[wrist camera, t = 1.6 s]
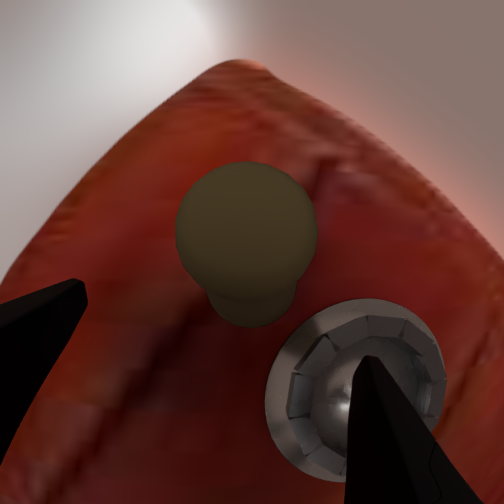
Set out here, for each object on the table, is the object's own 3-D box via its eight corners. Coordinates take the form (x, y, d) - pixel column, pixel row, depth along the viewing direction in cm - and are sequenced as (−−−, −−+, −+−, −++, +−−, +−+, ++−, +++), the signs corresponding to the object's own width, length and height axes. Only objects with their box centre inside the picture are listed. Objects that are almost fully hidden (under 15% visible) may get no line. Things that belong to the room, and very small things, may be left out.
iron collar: (456, 420, 16) (476, 425, 14) (304, 504, 15) (309, 522, 13) (404, 271, 20) (421, 261, 17) (234, 345, 19) (231, 346, 16)
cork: (257, 347, 19) (258, 351, 8) (187, 287, 20) (117, 225, 9) (315, 275, 20) (371, 200, 10) (245, 221, 21) (234, 111, 11)
